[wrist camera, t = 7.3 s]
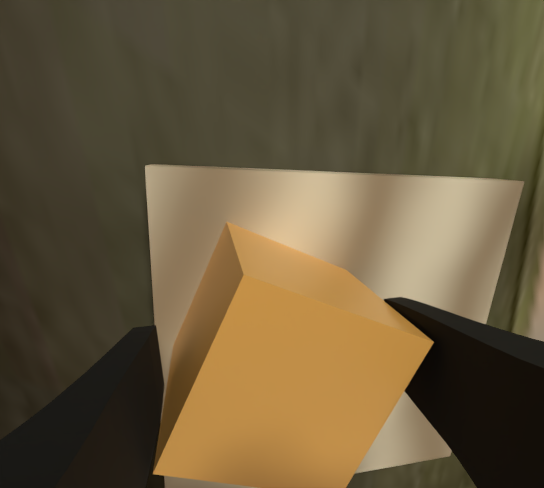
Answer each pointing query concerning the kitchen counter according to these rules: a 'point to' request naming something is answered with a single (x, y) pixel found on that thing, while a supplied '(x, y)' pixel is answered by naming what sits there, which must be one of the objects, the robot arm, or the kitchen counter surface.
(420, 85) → the kitchen counter surface
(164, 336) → the board
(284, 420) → the tilted amber cube
